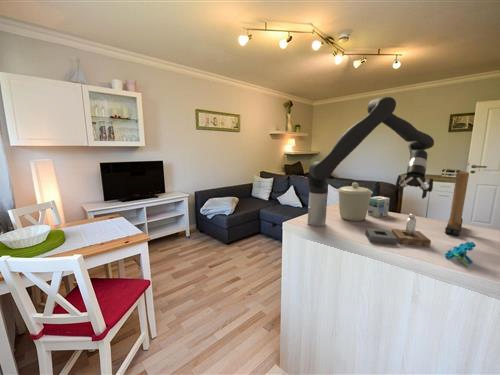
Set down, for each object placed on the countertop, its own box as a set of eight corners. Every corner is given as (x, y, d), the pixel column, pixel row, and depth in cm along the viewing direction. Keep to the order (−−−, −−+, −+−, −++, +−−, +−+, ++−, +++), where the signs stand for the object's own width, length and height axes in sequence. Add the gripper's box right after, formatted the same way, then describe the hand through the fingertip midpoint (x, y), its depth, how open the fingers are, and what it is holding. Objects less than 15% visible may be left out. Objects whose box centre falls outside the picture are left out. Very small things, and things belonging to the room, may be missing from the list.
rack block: (399, 244, 94) (400, 237, 93) (390, 234, 104) (391, 228, 104) (429, 247, 91) (430, 240, 90) (418, 237, 101) (418, 231, 101)
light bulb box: (377, 217, 130) (379, 199, 128) (366, 214, 136) (368, 197, 134) (388, 215, 135) (390, 197, 133) (377, 212, 141) (379, 195, 139)
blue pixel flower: (446, 247, 87) (474, 236, 80) (459, 260, 85) (489, 251, 78) (439, 259, 81) (468, 249, 74) (452, 274, 79) (484, 265, 72)
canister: (376, 223, 119) (380, 185, 116) (342, 223, 120) (345, 185, 116) (360, 214, 137) (363, 180, 133) (331, 213, 137) (333, 180, 134)
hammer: (458, 241, 102) (468, 179, 93) (443, 238, 105) (452, 178, 96) (462, 224, 114) (472, 167, 106) (449, 221, 118) (457, 167, 109)
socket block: (370, 242, 96) (370, 236, 95) (365, 234, 105) (365, 228, 105) (396, 245, 93) (397, 238, 92) (388, 236, 102) (389, 230, 102)
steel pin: (406, 241, 97) (409, 215, 95) (403, 238, 100) (406, 213, 98) (414, 242, 96) (418, 215, 94) (411, 239, 99) (415, 213, 97)
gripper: (400, 162, 112) (394, 189, 106) (436, 165, 104) (432, 194, 97) (398, 171, 117) (393, 197, 111) (433, 175, 109) (429, 202, 103)
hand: (411, 195), depth 104 cm, fingers open, 8 cm apart
